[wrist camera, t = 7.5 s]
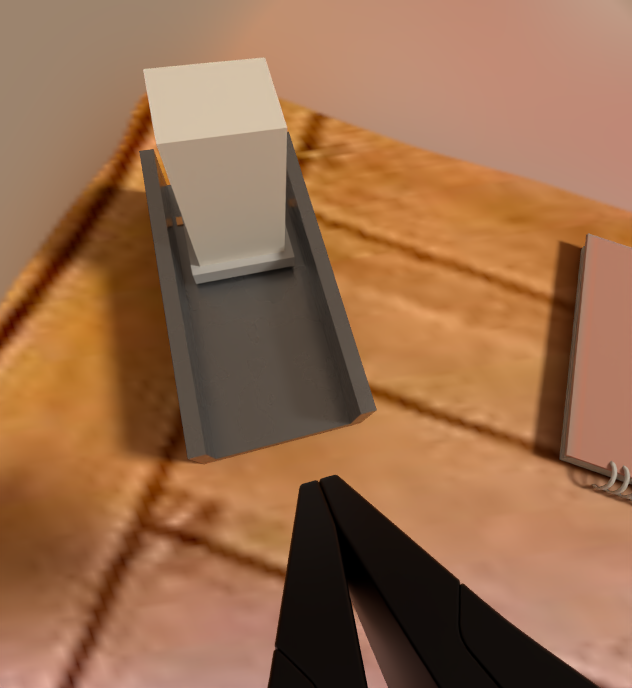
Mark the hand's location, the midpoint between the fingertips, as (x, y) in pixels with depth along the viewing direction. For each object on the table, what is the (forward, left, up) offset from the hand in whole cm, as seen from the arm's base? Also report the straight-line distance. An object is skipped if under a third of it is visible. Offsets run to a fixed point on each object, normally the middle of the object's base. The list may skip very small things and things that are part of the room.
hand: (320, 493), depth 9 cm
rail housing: (+12, 0, -14) cm, 18 cm away
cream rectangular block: (+15, 0, -12) cm, 20 cm away
